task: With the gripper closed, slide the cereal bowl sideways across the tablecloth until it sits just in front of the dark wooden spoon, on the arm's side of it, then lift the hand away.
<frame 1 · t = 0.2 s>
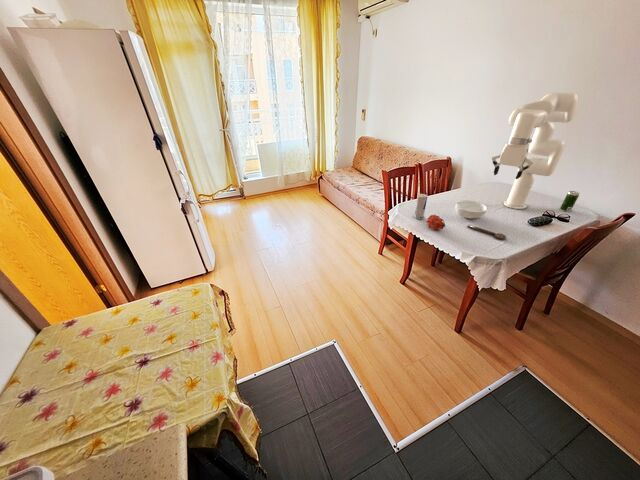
hand: (506, 176, 128), 31 cm above the table, tool pointing down, fingers open, 9 cm apart
cereal bowl: (468, 216, 159), on the table
beverage can: (418, 217, 161), on the table
beer can: (564, 210, 159), on the table
dragon fruit: (434, 228, 149), on the table
wooden spoon: (486, 233, 141), on the table
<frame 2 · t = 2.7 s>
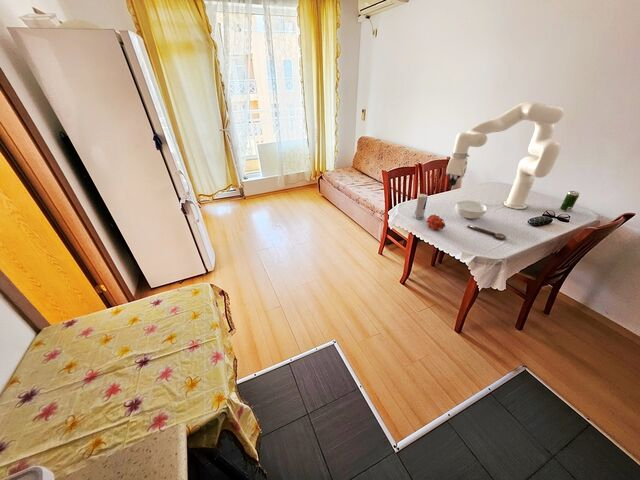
hand: (452, 184, 159), 17 cm above the table, tool pointing down, fingers closed
nothing on the table moved.
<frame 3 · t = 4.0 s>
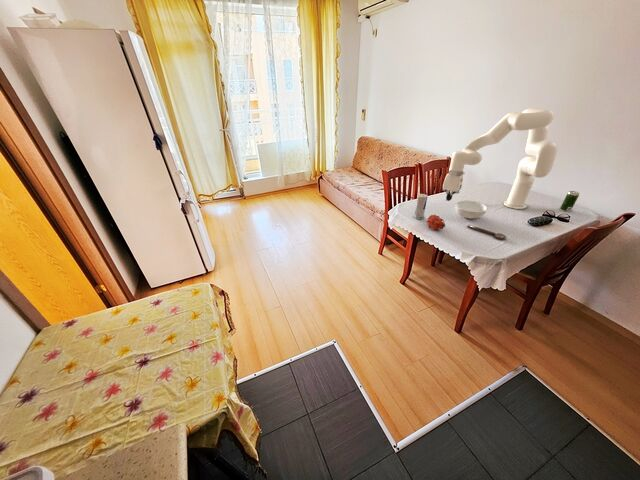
hand: (448, 200, 165), 7 cm above the table, tool pointing down, fingers closed
nothing on the table moved.
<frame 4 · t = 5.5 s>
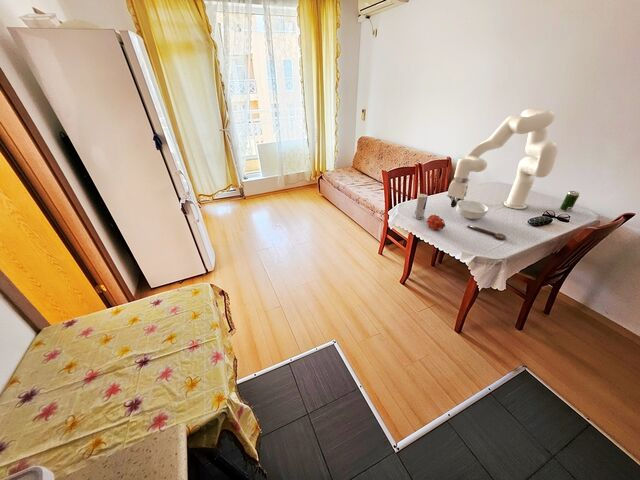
hand: (453, 206, 164), 3 cm above the table, tool pointing down, fingers closed
cereal bowl: (469, 216, 159), on the table, touching gripper
everything else where it was.
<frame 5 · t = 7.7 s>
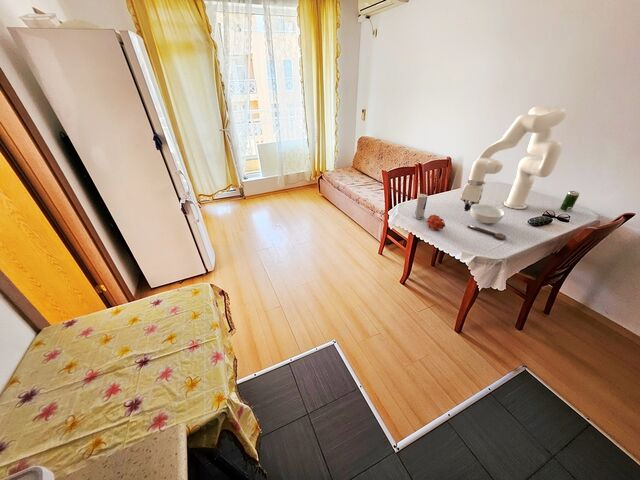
hand: (466, 210, 158), 3 cm above the table, tool pointing down, fingers closed
cereal bowl: (484, 220, 153), on the table, touching gripper
everything else where it was.
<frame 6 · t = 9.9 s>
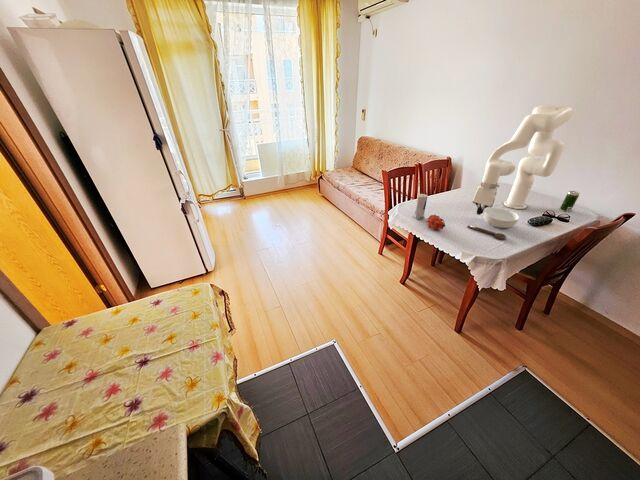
hand: (479, 213, 153), 4 cm above the table, tool pointing down, fingers closed
cereal bowl: (497, 224, 148), on the table, touching gripper
everything else where it was.
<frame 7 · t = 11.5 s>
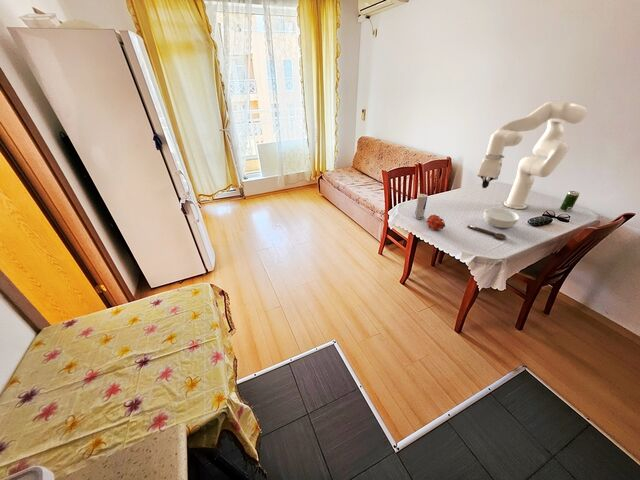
hand: (484, 187, 152), 18 cm above the table, tool pointing down, fingers closed
cereal bowl: (497, 224, 148), on the table
everything else where it was.
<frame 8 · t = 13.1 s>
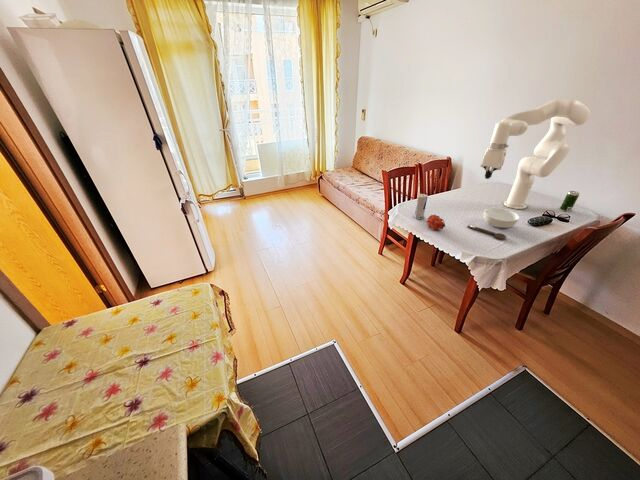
hand: (487, 178, 149), 23 cm above the table, tool pointing down, fingers closed
nothing on the table moved.
at the end: cereal bowl inside the target area on the table beside the wooden spoon (0.7 cm from its centre), on the table; cereal bowl tilted 0°; cereal bowl moved 16.6 cm from its start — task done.
